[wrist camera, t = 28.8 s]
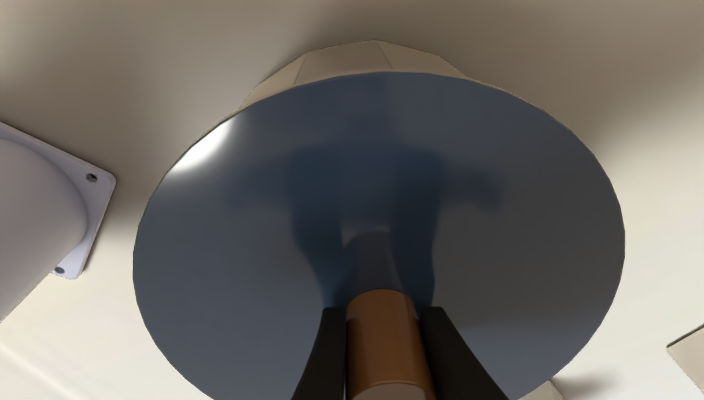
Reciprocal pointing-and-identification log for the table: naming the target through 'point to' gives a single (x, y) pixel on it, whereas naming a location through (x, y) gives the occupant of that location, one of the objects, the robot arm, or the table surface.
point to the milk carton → (690, 357)
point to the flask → (544, 393)
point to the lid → (378, 237)
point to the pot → (350, 64)
